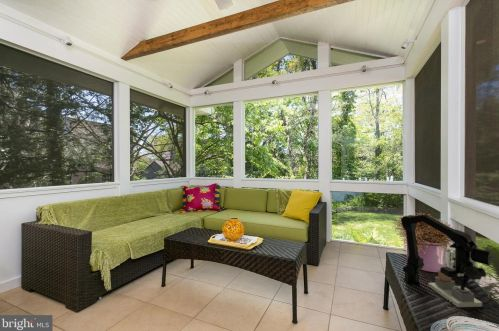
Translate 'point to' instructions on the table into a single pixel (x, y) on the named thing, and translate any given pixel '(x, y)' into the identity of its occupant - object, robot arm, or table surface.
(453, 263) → the beer glass
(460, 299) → the console
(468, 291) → the plunger
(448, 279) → the terracotta plunger
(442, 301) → the table surface
